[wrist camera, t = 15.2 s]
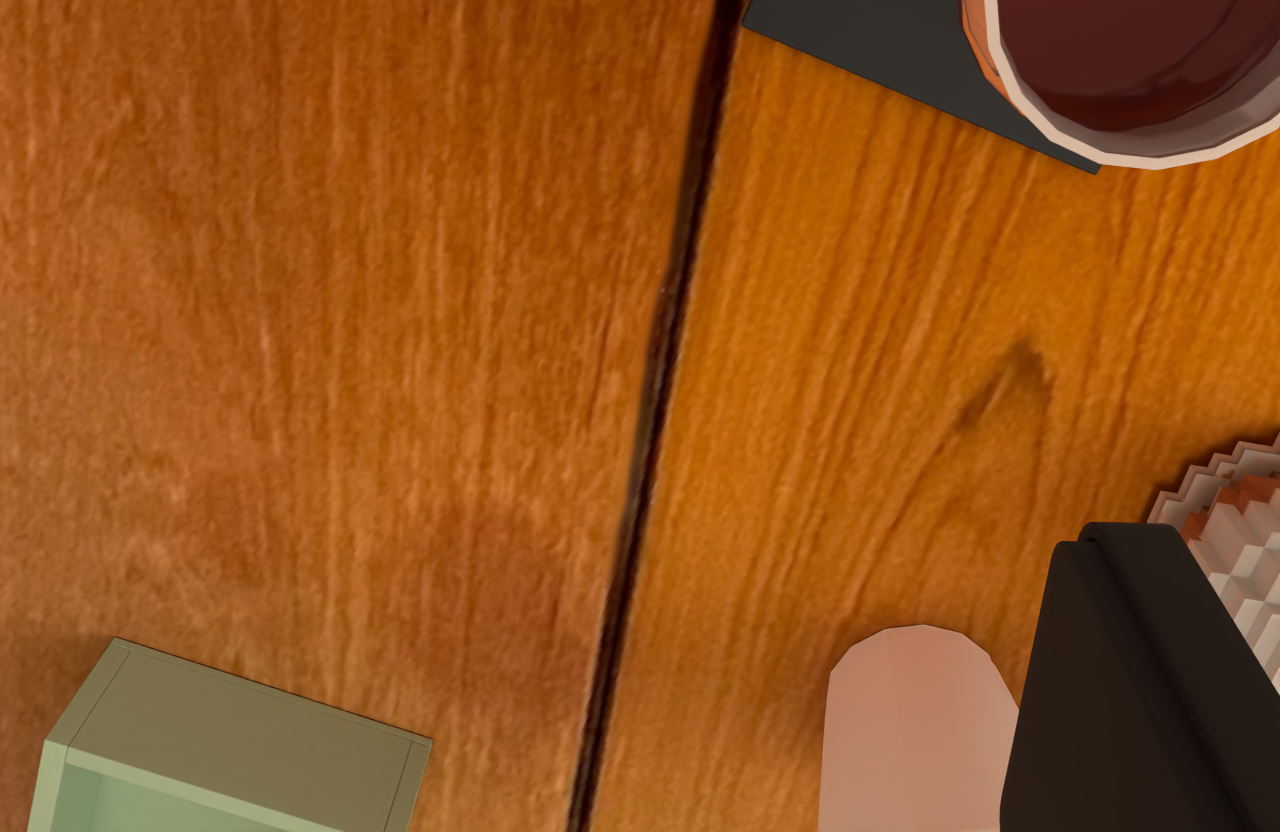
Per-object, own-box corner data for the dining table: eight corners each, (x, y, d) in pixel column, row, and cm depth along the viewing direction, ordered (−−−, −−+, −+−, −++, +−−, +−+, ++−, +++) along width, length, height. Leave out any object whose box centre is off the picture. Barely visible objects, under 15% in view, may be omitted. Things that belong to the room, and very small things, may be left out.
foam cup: (868, 817, 47) (918, 1153, 36) (734, 667, 44) (742, 985, 32) (1088, 716, 44) (1220, 1048, 32) (963, 546, 41) (1060, 851, 29)
